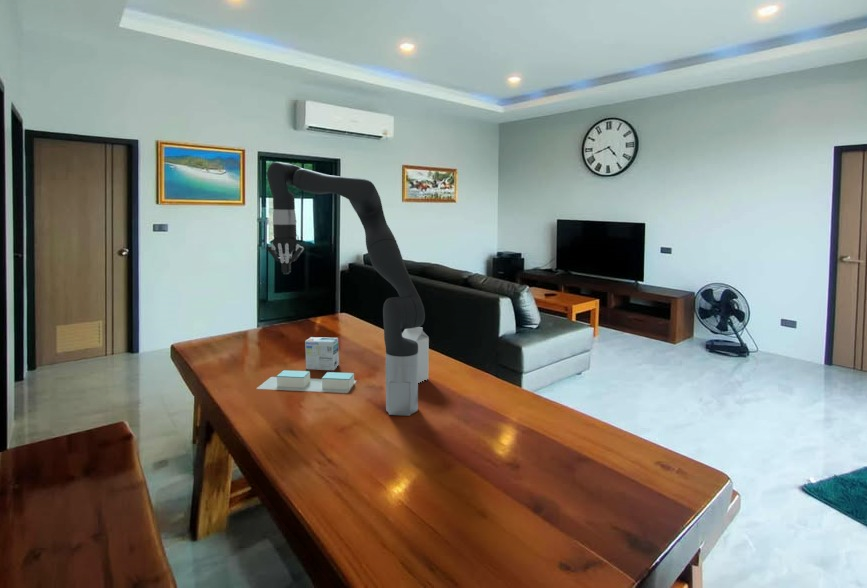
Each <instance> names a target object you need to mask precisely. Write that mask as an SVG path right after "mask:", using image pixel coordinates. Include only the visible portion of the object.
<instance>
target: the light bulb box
mask: <svg viewBox="0 0 867 588" xmlns="http://www.w3.org/2000/svg"><path fill="white" fill-rule="evenodd" d="M304 347H305V348H304V349H305V370H314V371H315V370H320V371H335V370H336V369H337V366H338V365H339V366H340V359H339V357H340V353H339V351H340V350H339V337H325V336H324V337H321V336H320V337H319V336H318V337H317V336H316V337H314V336H310V337H309V338H308V339H305V341H304ZM339 366H338V367H339Z"/></svg>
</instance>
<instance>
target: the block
mask: <svg viewBox="0 0 867 588" xmlns="http://www.w3.org/2000/svg"><path fill="white" fill-rule="evenodd" d="M321 379H322V388H326V389H348V390H350V391H351V389H352V388H353V387H352V386H354V385H355V384H354V380H355V373H354V372H334V371H331V372H330V371H327V372H326V373H325V374H324V375H323V376H322V377H321ZM353 384H354V385H353ZM351 387H352V388H351ZM350 388H351V389H350Z"/></svg>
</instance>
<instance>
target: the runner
mask: <svg viewBox="0 0 867 588" xmlns="http://www.w3.org/2000/svg"><path fill="white" fill-rule="evenodd" d="M357 381H358V380H355V379H354V384H353V386H355V384H356V383H357ZM353 386H352V387H351V388H350V390H348V389H326V388H322V378H311V377H310V382H309V383H308V384H307V385H306V386H305V387H304V388H303V387H281V386H277V376H271V377H269V378H267V379H266V380H265V381H264V382H262V383H261V384H260V385H258V387H256V390H271V391H273V390H274V391H275V390H277V391H293V392H294V391H295V392H314V393H315V392H317V393H318V392H319V393H336V394H337V393H341V394H342V393H343V394H349V392H350V391H351V390H352V388H353Z"/></svg>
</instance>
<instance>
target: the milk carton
mask: <svg viewBox="0 0 867 588" xmlns="http://www.w3.org/2000/svg"><path fill="white" fill-rule="evenodd" d="M423 329H424V328H423V327H421V326H420V327H416V328H409V329H403V331H402V337H404V338H407V339H411V340H414V341H416V342H417V344H418V383H419V384H420V382H421V383H423V382H425V381H424V380H426V381H428V380H429V364H430V363H429V354H430V352H429V351H430V350H429V349H430V348H429V347H430V346H429V345H430V344H429V343H430V339H429V338H430V337H429V336H428V335H427V334H426V332H425V331H424V330H423ZM427 379H428V380H427ZM422 381H423V382H422Z"/></svg>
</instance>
